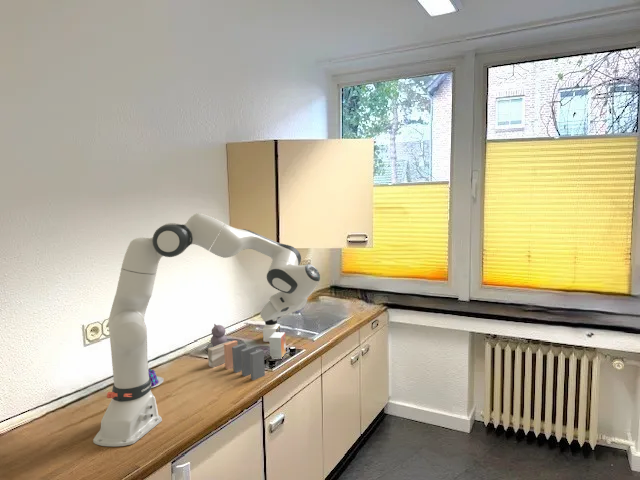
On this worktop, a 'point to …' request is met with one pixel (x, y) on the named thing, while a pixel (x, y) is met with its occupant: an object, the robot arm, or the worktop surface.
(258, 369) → the domino
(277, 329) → the medicine bottle
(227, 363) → the end domino
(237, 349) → the domino
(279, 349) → the small box
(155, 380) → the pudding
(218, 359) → the stop
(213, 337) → the cat figurine
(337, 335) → the worktop surface
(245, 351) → the domino
